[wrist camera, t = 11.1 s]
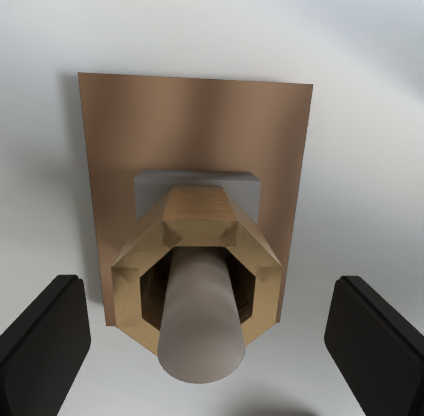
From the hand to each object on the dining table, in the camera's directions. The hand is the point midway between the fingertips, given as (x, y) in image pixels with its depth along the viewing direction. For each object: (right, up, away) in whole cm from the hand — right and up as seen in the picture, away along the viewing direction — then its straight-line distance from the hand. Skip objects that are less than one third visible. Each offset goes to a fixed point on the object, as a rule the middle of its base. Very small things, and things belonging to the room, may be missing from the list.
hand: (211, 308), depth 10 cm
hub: (-1, +2, +6) cm, 6 cm away
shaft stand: (-1, +3, +10) cm, 11 cm away
